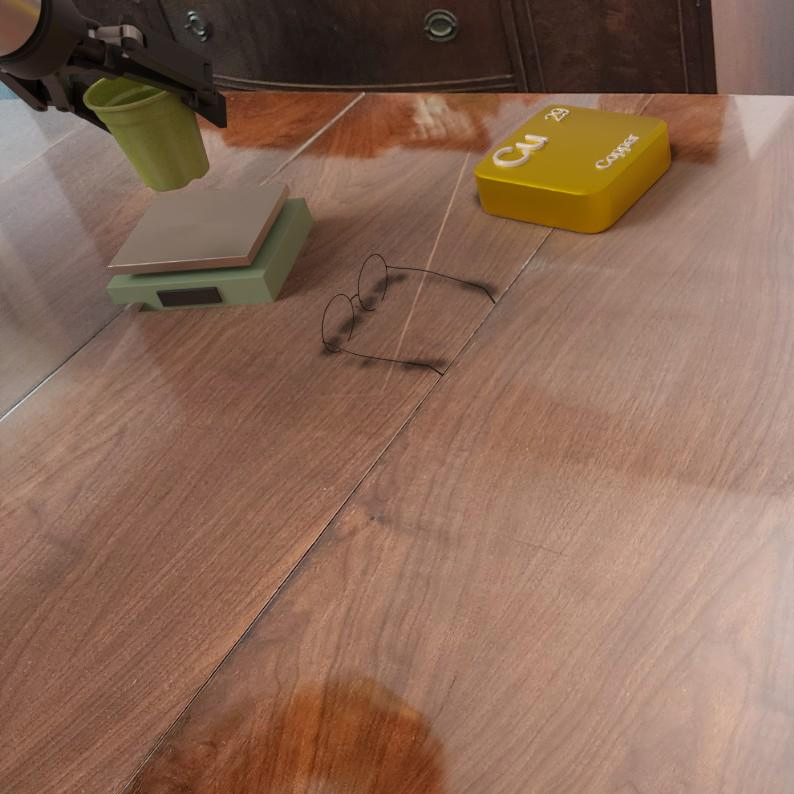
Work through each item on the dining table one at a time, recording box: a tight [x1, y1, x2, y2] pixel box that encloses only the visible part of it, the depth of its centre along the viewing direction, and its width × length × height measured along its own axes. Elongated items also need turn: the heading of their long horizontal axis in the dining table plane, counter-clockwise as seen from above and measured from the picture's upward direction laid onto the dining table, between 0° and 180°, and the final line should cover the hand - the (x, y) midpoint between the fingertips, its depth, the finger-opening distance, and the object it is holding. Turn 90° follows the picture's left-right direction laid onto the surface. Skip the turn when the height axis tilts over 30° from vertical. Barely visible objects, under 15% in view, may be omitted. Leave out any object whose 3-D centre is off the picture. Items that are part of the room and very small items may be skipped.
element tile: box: [473, 103, 672, 234], centre depth 110 cm, size 15×15×5 cm
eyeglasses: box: [321, 253, 497, 377], centre depth 97 cm, size 11×13×5 cm
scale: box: [105, 197, 315, 313], centre depth 109 cm, size 16×14×4 cm
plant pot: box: [83, 77, 210, 193], centre depth 100 cm, size 9×9×9 cm
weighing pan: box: [107, 182, 291, 277], centre depth 108 cm, size 14×13×1 cm
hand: (171, 118), depth 103 cm, fingers closed on plant pot, 9 cm apart
